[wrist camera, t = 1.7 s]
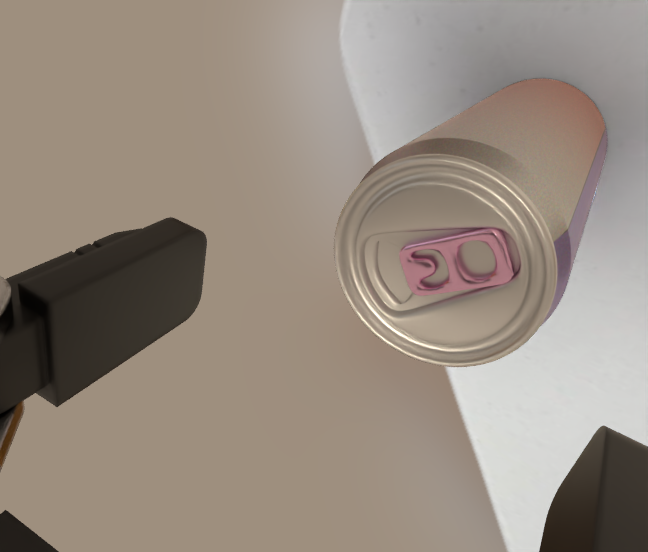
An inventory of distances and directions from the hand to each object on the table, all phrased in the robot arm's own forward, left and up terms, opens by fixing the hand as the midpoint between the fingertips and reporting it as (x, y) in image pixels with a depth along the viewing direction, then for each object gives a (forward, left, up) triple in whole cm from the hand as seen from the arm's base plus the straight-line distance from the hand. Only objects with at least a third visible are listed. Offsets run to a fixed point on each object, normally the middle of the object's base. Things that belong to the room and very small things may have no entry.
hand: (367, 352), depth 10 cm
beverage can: (0, 0, -19) cm, 19 cm away
